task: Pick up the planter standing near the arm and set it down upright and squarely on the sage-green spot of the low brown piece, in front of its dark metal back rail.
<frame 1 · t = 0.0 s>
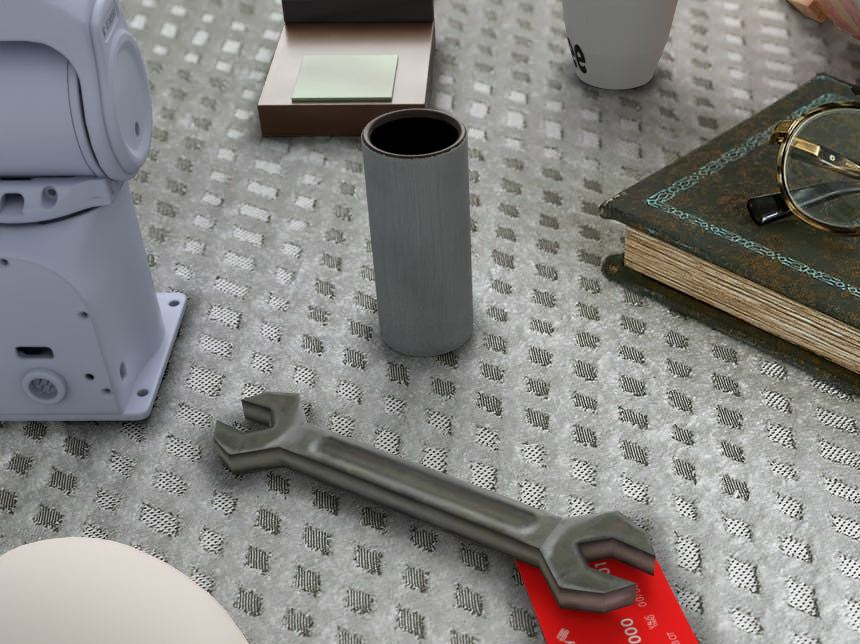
brown piece: (354, 88, 77), on the table
cup: (615, 75, 78), on the table
wrench: (650, 583, 44), point 1 cm above the table, touching credit card
credit card: (610, 620, 45), on the table, touching wrench
planter: (427, 333, 58), on the table
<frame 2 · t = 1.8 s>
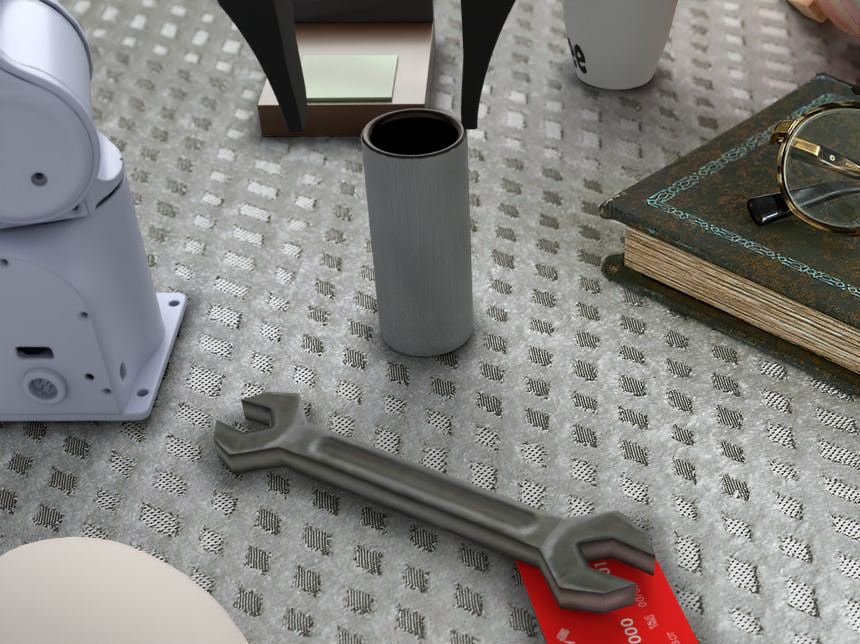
hand: (383, 120, 53), 9 cm above the table, tool pointing down, fingers open, 7 cm apart
nothing on the table moved.
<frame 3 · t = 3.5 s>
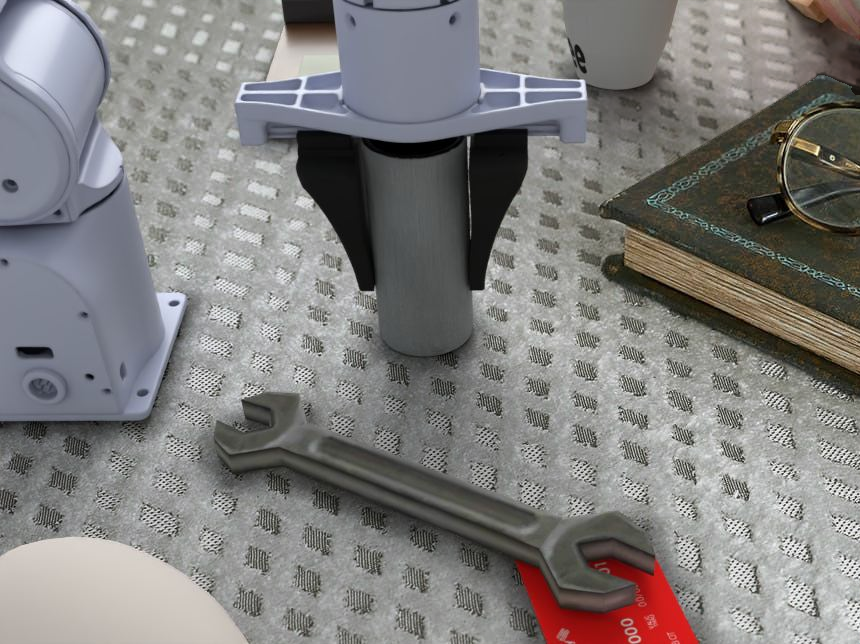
hand: (423, 279, 56), 3 cm above the table, tool pointing down, fingers closed on planter, 4 cm apart
planter: (426, 333, 58), on the table, touching gripper
everything else where it was.
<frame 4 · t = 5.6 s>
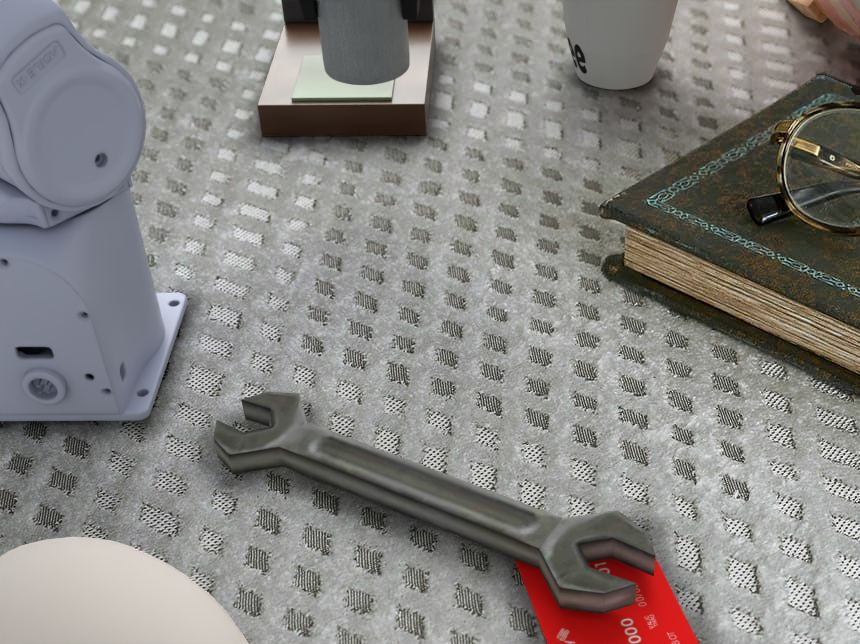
hand: (362, 12, 61), 10 cm above the table, tool pointing down, fingers closed on planter, 4 cm apart
planter: (367, 71, 63), point 7 cm above the table, touching gripper
everything else where it was.
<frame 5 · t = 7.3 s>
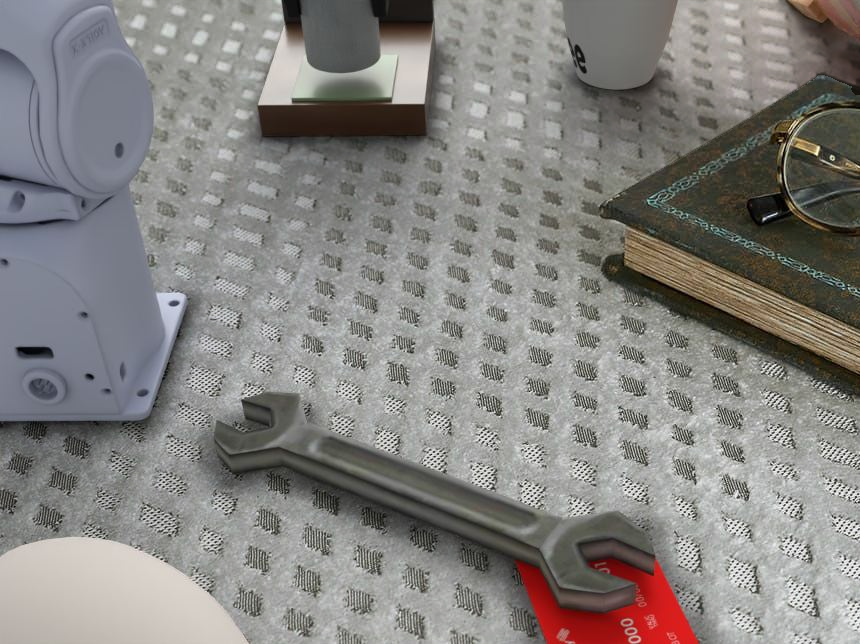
hand: (339, 10, 71), 6 cm above the table, tool pointing down, fingers closed on planter, 4 cm apart
planter: (344, 61, 73), point 3 cm above the table, touching gripper
everything else where it was.
when the fingers open (5 cm above the table, at t = 8.1 s): planter stays where it is, resting on brown piece.
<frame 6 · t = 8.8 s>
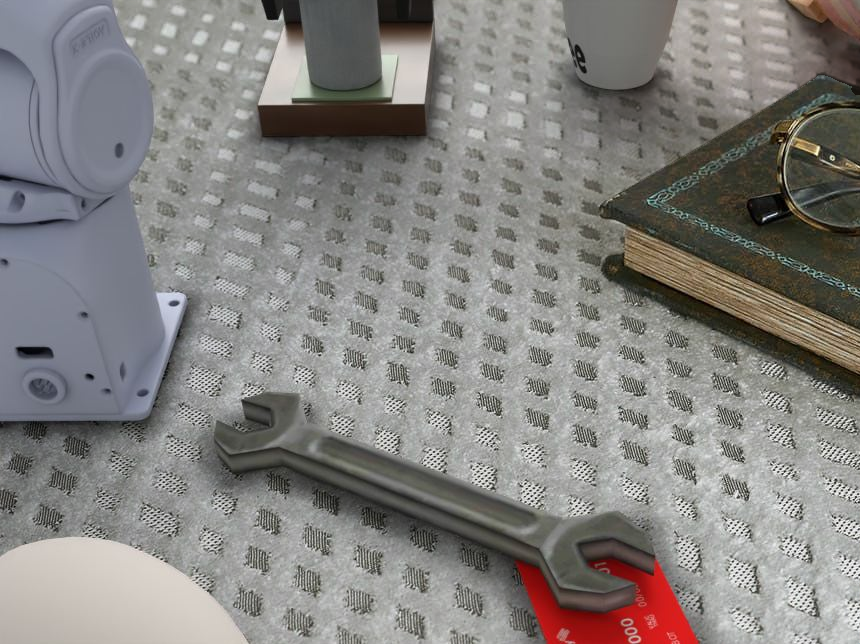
hand: (339, 13, 71), 6 cm above the table, tool pointing down, fingers open, 7 cm apart
planter: (346, 78, 73), point 2 cm above the table, touching brown piece
everything else where it was.
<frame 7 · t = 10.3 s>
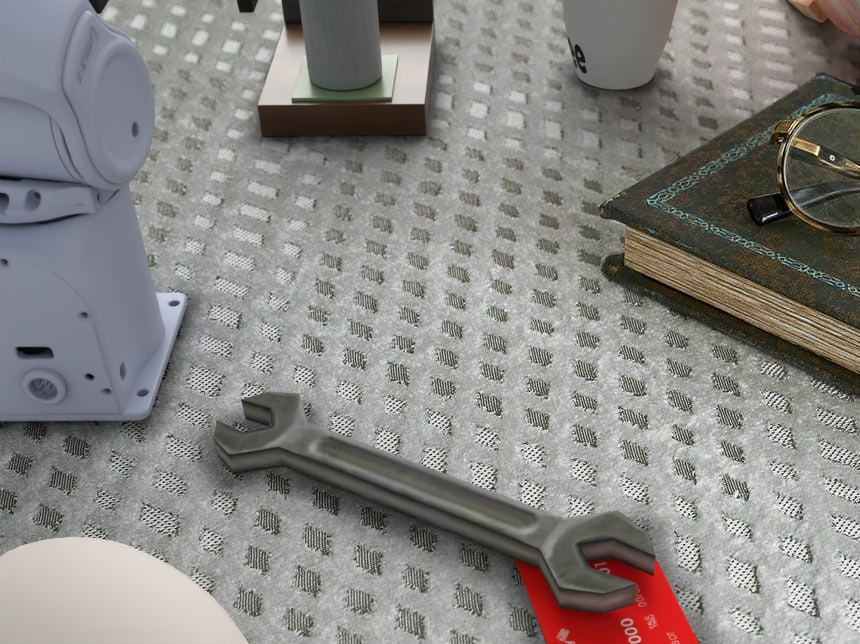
hand: (174, 5, 61), 10 cm above the table, tool pointing down, fingers open, 7 cm apart
nothing on the table moved.
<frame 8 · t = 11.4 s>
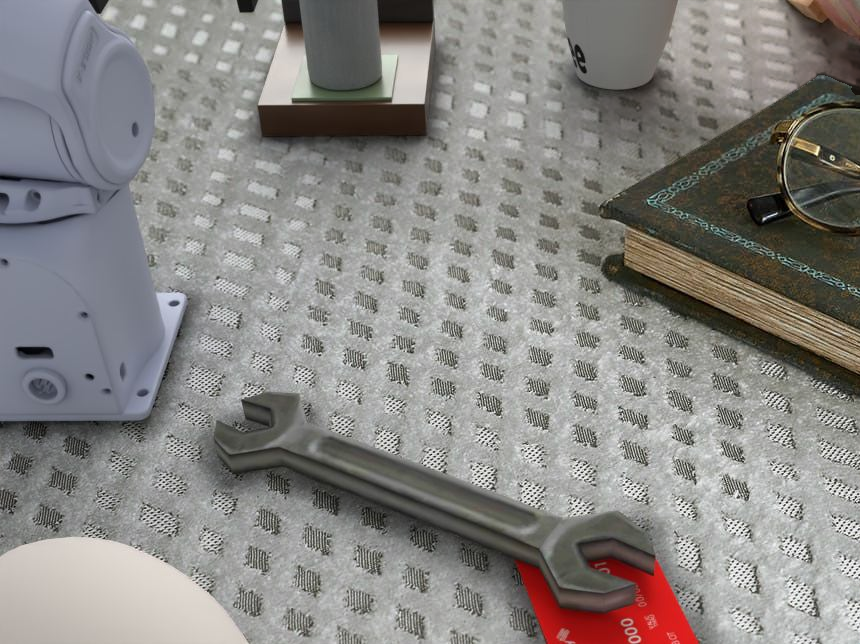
hand: (174, 5, 61), 10 cm above the table, tool pointing down, fingers open, 7 cm apart
nothing on the table moved.
at the end: planter 0.0 cm from the target spot on the brown piece, point 2.0 cm above the brown piece's base; planter tilted 0°; the gripper is holding nothing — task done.
